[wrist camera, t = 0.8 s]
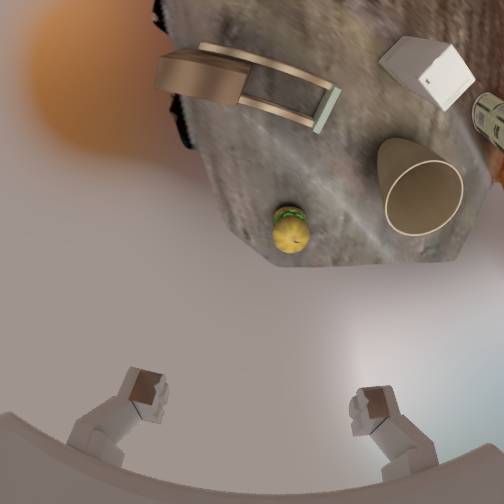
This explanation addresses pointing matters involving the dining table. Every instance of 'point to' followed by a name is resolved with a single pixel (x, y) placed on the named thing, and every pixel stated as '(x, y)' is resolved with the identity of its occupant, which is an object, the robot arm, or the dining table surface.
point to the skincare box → (428, 69)
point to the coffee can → (489, 118)
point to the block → (202, 76)
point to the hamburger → (290, 230)
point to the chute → (276, 65)
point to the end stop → (325, 107)
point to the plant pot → (416, 187)
